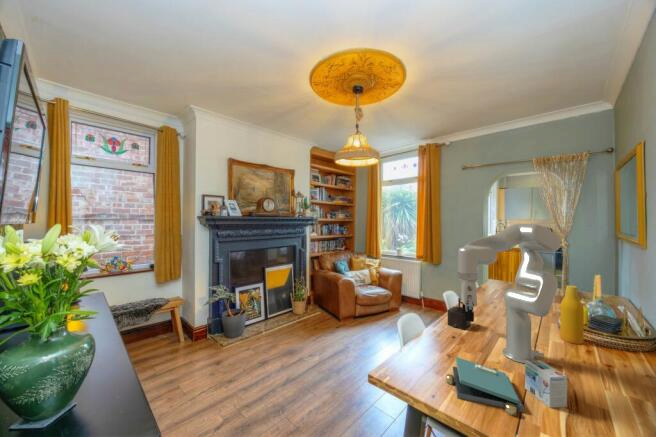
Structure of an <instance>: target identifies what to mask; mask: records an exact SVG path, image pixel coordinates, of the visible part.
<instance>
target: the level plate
mask: <svg viewBox="0 0 656 437" xmlns="http://www.w3.org/2000/svg"><path fill="white" fill-rule="evenodd" d="M455 363H456V364H455V365H456V367H457V369H458V374H459V379H460V383H461V384H464V385H467V386H470V387H473V388H475V389H478V390H481V391H484V392H486V393H489V394H492V395H495V396H498V397H500V398H503V399H506V400H509V401H511V402H514V403H517V404H519V399H520V398H519V399H518V397H519V396H518V397H517V395H518V394H517V395H516V393H517V392H516V393H515V391H516V390H515V391H514V389H515V388H514V389H513V387H514V386H513V387H512V385H513V384H512V385H511V383H512V382H511V383H510V381H511V380H510V381H509V379H510V378H509V379H508V377H509V376H508V375H507V374H506V372H503V371H501V370H498V371H497V369H495V370H494V368H491V367H488V366H484V365H482V364H479V363H476V362H472V361H469V360H468V359H464V358H461V357H458V356H455ZM507 376H508V377H507Z"/></svg>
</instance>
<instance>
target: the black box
mask: <svg viewBox="0 0 656 437" xmlns="http://www.w3.org/2000/svg"><path fill="white" fill-rule="evenodd" d="M457 302H458V306H452V307H450V308H447V326H448V325H449V327H451V328H455V329H459V330H468V329H469V328H470V327H471V326H472V322H470V321H465V314H463V313H462V306H461V304H463V301H462V298H460V297H459V298H457ZM473 307H476V306H475V305H474V304H473Z"/></svg>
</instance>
